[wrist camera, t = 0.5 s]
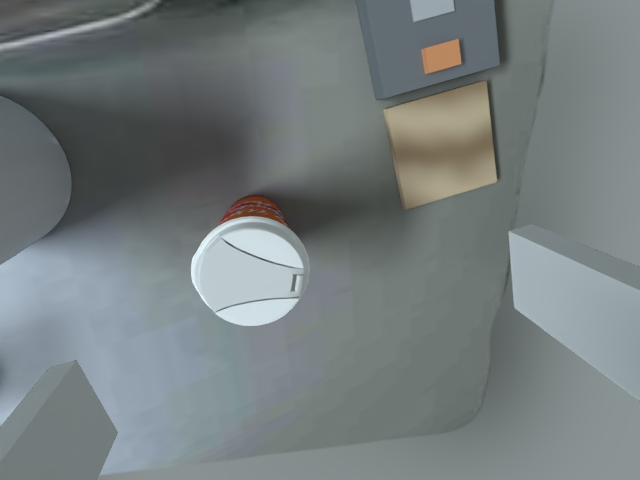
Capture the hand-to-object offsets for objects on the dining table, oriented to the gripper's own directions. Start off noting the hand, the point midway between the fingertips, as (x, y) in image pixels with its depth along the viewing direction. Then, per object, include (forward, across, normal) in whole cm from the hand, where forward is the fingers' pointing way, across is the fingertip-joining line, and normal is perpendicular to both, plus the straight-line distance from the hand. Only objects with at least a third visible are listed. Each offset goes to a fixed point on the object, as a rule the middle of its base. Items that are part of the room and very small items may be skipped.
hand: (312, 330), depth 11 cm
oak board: (+26, +17, -1) cm, 31 cm away
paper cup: (+27, -3, -3) cm, 27 cm away
